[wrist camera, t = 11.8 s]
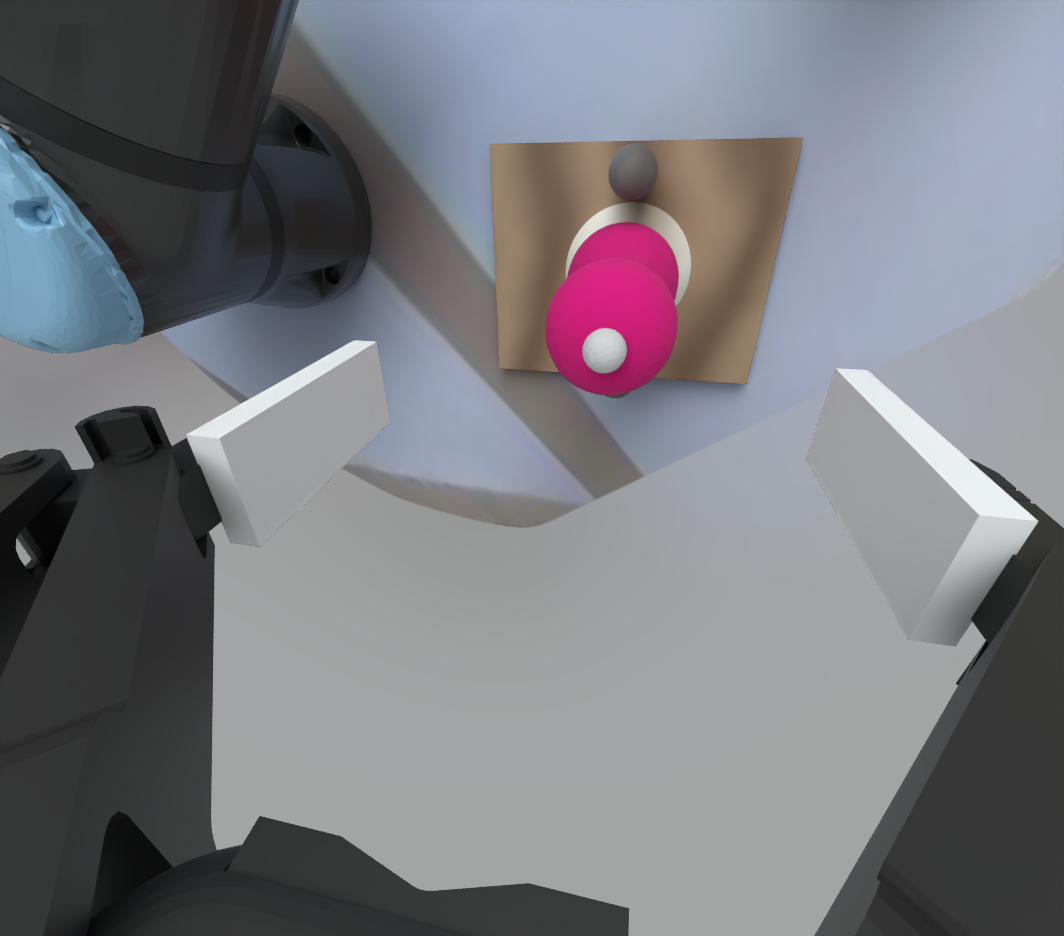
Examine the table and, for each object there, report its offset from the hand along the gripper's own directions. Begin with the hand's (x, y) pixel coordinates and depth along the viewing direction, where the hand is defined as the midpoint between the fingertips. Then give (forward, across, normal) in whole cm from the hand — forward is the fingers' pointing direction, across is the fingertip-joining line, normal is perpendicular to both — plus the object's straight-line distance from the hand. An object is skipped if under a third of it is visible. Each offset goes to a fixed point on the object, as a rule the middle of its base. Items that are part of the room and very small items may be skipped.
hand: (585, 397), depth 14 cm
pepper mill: (+25, 0, 0) cm, 25 cm away
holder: (+27, 0, 0) cm, 27 cm away
